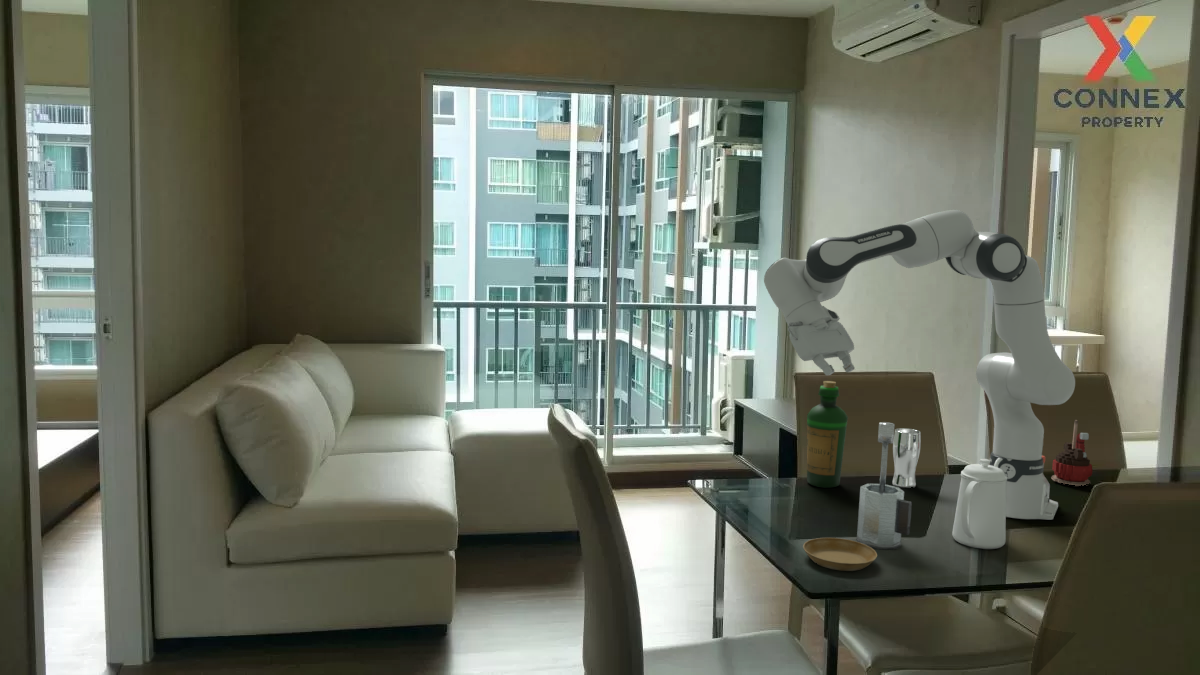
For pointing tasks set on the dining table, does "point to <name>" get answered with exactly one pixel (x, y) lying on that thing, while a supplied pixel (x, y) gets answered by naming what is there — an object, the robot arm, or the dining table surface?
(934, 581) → the dining table surface
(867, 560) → the plant saucer
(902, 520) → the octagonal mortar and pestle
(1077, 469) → the cake
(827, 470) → the bottle
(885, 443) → the dumbbell
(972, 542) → the coffeepot
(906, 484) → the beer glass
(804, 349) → the robot arm
